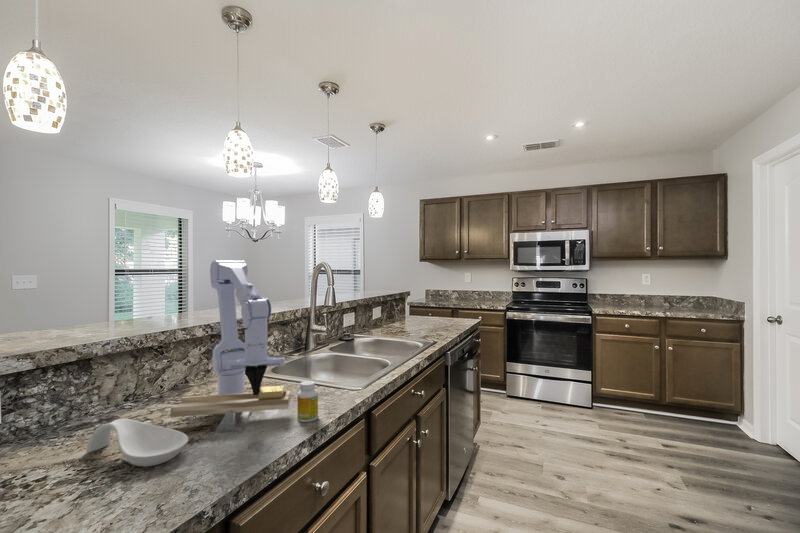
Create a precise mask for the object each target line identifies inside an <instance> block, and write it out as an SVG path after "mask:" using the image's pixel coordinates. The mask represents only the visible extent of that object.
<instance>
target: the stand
mask: <svg viewBox="0 0 800 533" xmlns="http://www.w3.org/2000/svg"><path fill="white" fill-rule="evenodd" d="M251 414H252V411H249V412H235V411H227V412H226V413H224V417H223V419H222V420H221V421H220V423H219V425H218V426H217V427H216V429H215V432H216V434H220V433H230V432H233V433H234V432H241V431H243V429H244V428H245V426H246V424H247V421H248V419H249V418H250V416H251Z"/></svg>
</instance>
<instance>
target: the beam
mask: <svg viewBox="0 0 800 533" xmlns="http://www.w3.org/2000/svg"><path fill="white" fill-rule="evenodd" d="M291 393H292V392H291V390H290V389H287V390H286V389H284V398H283V399H270V400H259V395H253V391H252V392H248V393H235V394H220V395H218V394H206V395H195V396H194V395H191V396H188V395H187V396H182V397H181V398H180V400H181V402H180V403H179V404H178V405H172V406H171V407H170V418H176V417H177V418H179V417H181V418H182V417H190V416H193V417H194V416H205V415H206V416H207V415H219V414H225V413H226V412H227V411H235V412H249V411H251V412H260V411H272V410H288V409H289V406H290V402H291V397H292V396H291Z"/></svg>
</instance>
